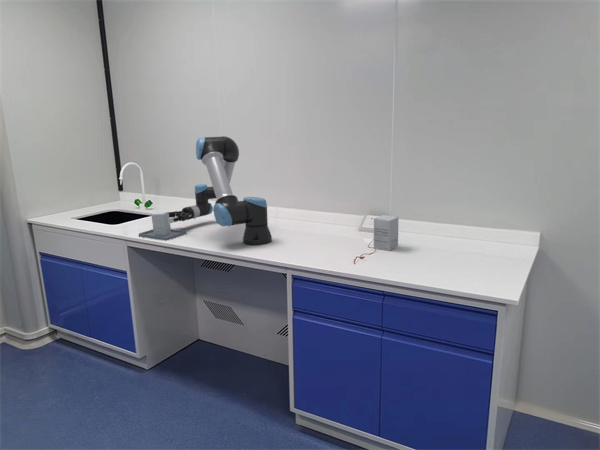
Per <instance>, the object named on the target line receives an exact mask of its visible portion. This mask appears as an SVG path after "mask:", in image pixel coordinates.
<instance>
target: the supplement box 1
mask: <svg viewBox="0 0 600 450" xmlns="http://www.w3.org/2000/svg"><path fill="white" fill-rule="evenodd" d="M169 212H170V211H155V212H153V213H152V214H151V220H152V229H153V231H154V236H167V235H168V234H170V233H171V223H168V218H169Z"/></svg>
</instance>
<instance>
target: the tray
mask: <svg viewBox="0 0 600 450" xmlns="http://www.w3.org/2000/svg"><path fill="white" fill-rule="evenodd" d="M185 234H186V235H187V231H186V230H181V229H180V230H179V229H173V228H172V229H171V233H170V234H168V235H167V236H154V231H153V228H152V229H149V230H147V231H143V232H139V233H138V237H141V238H146V239H153V240H160V241H165V240H166V241H167V240H168V241H170V239H171V240H173V238H174V239H176V237H177V238H180V237H183V236H185ZM182 235H183V236H182ZM179 236H180V237H179ZM168 241H167V242H168Z"/></svg>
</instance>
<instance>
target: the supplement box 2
mask: <svg viewBox="0 0 600 450" xmlns="http://www.w3.org/2000/svg"><path fill="white" fill-rule="evenodd" d="M398 247H399V216H392V215H388V214H387V215H385V214H383V215H379V216H377V217H374V218H373V249H377V250H383V251H388V252H390V251H393V250H394V249H396V248H398Z"/></svg>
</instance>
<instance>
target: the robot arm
mask: <svg viewBox="0 0 600 450" xmlns="http://www.w3.org/2000/svg"><path fill="white" fill-rule="evenodd" d="M195 155H196V159H197V160H199V161H201V163H202V164H203V165H204V166H206V169H207V173H208V176H209V179H210V183H211V186H208V185H207V183H206V184H205V183H202V184H201V183H198V184H196V185H194V196H195V197H194V198H195V204H194V205H190V206H186V207H182V209H181V210H178V211H177V210H176V211H169V218H168V223H170V224H173V223H176V222H185V221H189V220H193V219H194V220H195V219H196V218H200V217H203V216H204V217H205V216H208V215H209V216H210V215H211V214H212V213H213V217H214V218H215V221H216V223H217V224H218V225H219V226H221V227H230V226H236V225H243V224H244V226H245V228H244V231H243V236H242V242H243V244H246V245H250V246H251V245H253V246H254V245H255V246H260V245H265V244H270V243H271V242H273V241H272V240H273V239H272V238H273V237H272V233H271V231H270V227H269V226H268V202H267V200H266V199H265V198H264V197H263V198H262V197H259V196H257V197H256V196H246V197H243V200H239V199H238V197H237V196H236V195H234V193H233V190H232V188H231V185H230V184H231V180H232V178H233V177H232V176H233V171H234V168H235V164H236V162H238V159H239V156H240V149H239V146H238V145H237V143H236V142H235V140H234V139H232V138H231V137H228V136H225V135H224V136H208V137H207V136H204V137H198V139H197V140H196V143H195ZM212 199H213V200H214V199H216V200H215V202H214V205H213V206H212V203H211V202H209V200H212Z"/></svg>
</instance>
